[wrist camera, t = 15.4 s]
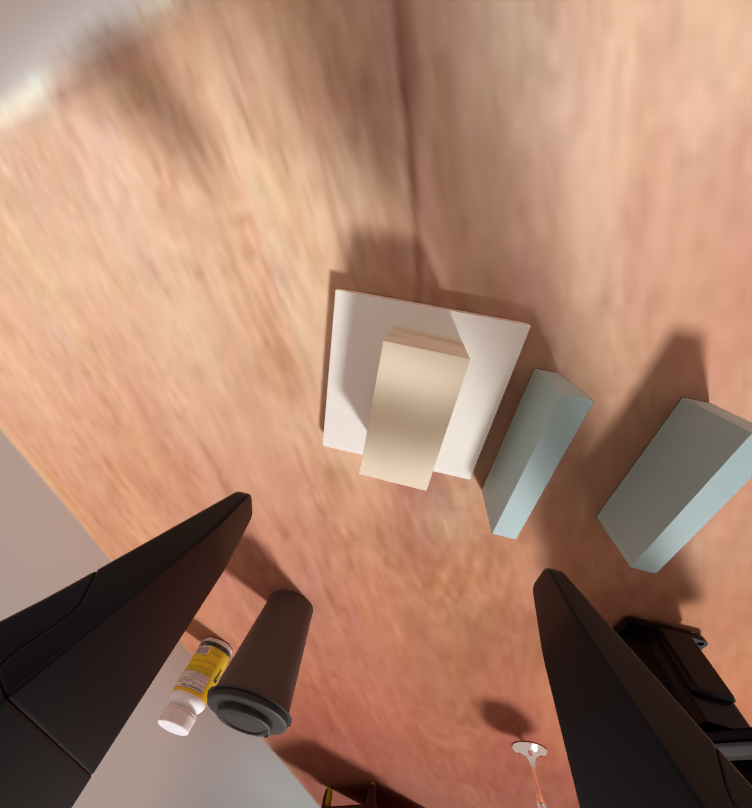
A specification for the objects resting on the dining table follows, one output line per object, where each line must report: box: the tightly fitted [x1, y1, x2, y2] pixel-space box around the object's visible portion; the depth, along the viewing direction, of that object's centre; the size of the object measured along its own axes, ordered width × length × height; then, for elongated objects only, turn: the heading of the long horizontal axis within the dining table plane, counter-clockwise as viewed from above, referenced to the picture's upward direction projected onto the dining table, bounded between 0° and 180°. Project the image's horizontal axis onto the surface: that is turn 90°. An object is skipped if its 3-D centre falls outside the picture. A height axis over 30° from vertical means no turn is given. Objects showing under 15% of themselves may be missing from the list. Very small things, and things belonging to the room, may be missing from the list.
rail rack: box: [482, 368, 752, 574], centre depth 17 cm, size 10×10×4 cm
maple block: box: [359, 325, 470, 491], centre depth 16 cm, size 8×4×4 cm, turn 170°
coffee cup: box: [207, 590, 313, 738], centre depth 29 cm, size 8×8×10 cm
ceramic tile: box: [323, 288, 531, 479], centre depth 19 cm, size 11×11×1 cm
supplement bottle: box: [158, 637, 232, 736], centre depth 38 cm, size 5×5×8 cm
